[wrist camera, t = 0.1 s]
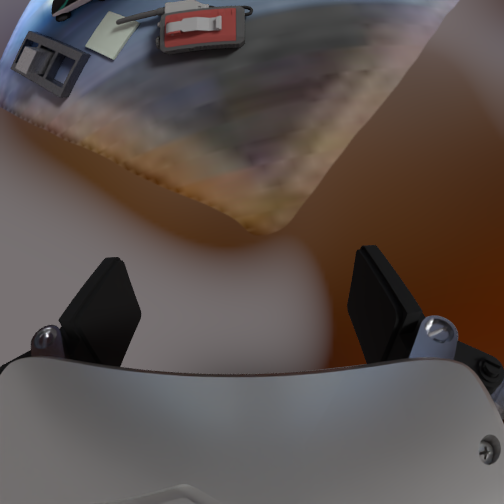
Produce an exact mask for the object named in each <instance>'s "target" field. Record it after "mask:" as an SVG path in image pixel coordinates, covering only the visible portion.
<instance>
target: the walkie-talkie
mask: <svg viewBox="0 0 504 504" xmlns="http://www.w3.org/2000/svg"><path fill="white" fill-rule="evenodd" d="M244 9H248V10H250V12H249V13H244ZM252 12H253V9H252V8H251V7H249V6H226V7H224V6H222V7H214V6H209V4H205V5H204V4H202V3H199V2H197V1H195V0H186V1H179V2H173V3H171V2H169V3H165V7H163V8H158V9H157V10H152V11H148V12H144V13H140V14H136V15H132V16H128V17H125V18H121V19H118V20H117V21H116V24H117V25H120V24H124V23H127V22H131V21H135V20H139V19H143V18H147V17H151V16H156V15H158V16H160V15H162V16H161V20H160V22H159V23H158V27H160V36H158V37H157V38H156V47H157V48H158V49H160V50H161V51H162V52H164V53H166V54H168V55H169V54H176V53H183V52H190V51H198V50H206V49H208V50H209V49H217V48H220V49H221V48H224V49H225V48H237V47H239V48H240V47H242V46H243V45H244V44H245V16H249V15H251V14H252Z"/></svg>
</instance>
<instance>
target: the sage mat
mask: <svg viewBox="0 0 504 504" xmlns="http://www.w3.org/2000/svg"><path fill="white" fill-rule="evenodd" d="M121 18H125V17H124V16H121V15H118V14H116V13H113V12H110V11H109V12H108V13H107V14H106V16H105V17H104V19H103V20H102V21H101V23H100V24H99V26H98V27H97V29H96V30H95V32H94V33H93V35H92V36H91V38H90V39H89V41H88V42H87V44H86V47H88V48H90V49H92V50H94V51H97V52H99V53H101V54H103V55H105V56H107V57H109V58H111V59H113V60H115V59H116V57H117V56H118V54H119V53H120V51H121V50H122V48H123V47H124V45H125V44H126V42H127V41H128V39H129V38H130V37H131V35H132V34H133V32H134V31H135V30H136V28H137V27H138V26H139V25H140V23H139V22H136V21H131V22H127V23H124V24H120V25H117V24H116V21H117V20H118V19H121Z"/></svg>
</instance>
